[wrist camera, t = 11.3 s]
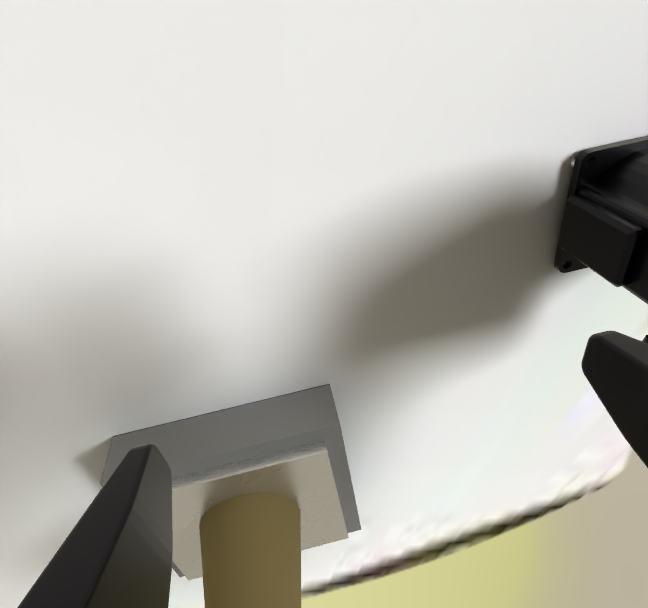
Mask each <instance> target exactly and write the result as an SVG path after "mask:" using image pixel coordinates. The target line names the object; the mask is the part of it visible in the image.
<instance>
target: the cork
mask: <svg viewBox="0 0 648 608" xmlns="http://www.w3.org/2000/svg"><path fill="white" fill-rule="evenodd" d="M199 530H200V544H201V558H202V572H203V586H204V599H205V608H301V510H300V508H299V507H298V505H297V504H296V502H294V501H293V500H291V499H289V498H288V497H286V496H282V495H278V494H274V493H250V494H243V495H238V496H235V497H232V498H229V499H226V500H223V501H221V502H220V503H218V504H216V505H215V506H213V507H211V508H210V509H209V510H208V511H207V512H206V513H205V514H204V515H203V516H202V519H201V522H200V524H199Z"/></svg>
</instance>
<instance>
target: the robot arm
mask: <svg viewBox="0 0 648 608" xmlns="http://www.w3.org/2000/svg"><path fill="white" fill-rule="evenodd" d="M589 158H590V160H589V162H588V163H587V164H586V162H587V160H588V159H589ZM565 262H566V263H565ZM564 263H565V264H564ZM554 266H555V268H556V269H557V270H559V271H560V272H562V273H566V272H571V271H575V270H579V269H583V268H588V267H589V268H590V269H592V270H593V271H594V272H596V273H597V274H599V275H600V276H601V277H603V278H604V279H606V280H607V281H608V282H610V283H611V284H613V285H614V286H616V287H620V286H623V287H624V288H625V289H627V290H628V291H630V292H631V293H632V294H634V295H635V296H637V297H638V298H640V299H641V300H642V301H644V302H645V303H647V304H648V136H646V137H641V138H637V139H632V140H627V141H623V142H618V143H614V144H609V145H604V146H600V147H595V148H591V149H587V150H584V151H582V152H581V153H580V154H579V155H578V157H577V158H576V160H575V164H574V169H573V174H572V178H571V183H570V188H569V193H568V198H567V203H566V208H565V213H564V218H563V222H562V227H561V232H560V237H559V242H558V247H557V252H556V257H555V262H554ZM582 370H583V373H584V375H585V376H586V378H587V380H588V381H589V383H590V384H591V386H592V387H593V389H594V391H595V392H596V394H597V395H598V397H599V399H600V400H601V402H602V403H603V405H604V406H605V408H606V410H607V411H608V413H609V414H610V416H611V418H612V419H613V421H614V422H615V424H616V425H617V427H618V429H619V430H620V432H621V433H622V434H623V436H624V437H625V439H626V440H627V442H628V443H629V444H630V446H631V447H632V448H633V450H634V451H635V452H636V453H637V455H638V456H639V457H640V459H641V460H642V461H643V462H644V463H645V465H646V466H647V468H648V335H646V336H645V338H644V339H643V341H639V340H637V339H634V338H631V337H629V336H626V335H624V334H621V333H618V332H615V331H605V332H601V333H597V334H594V335H592V336H591V337H590V338H589V340H588V343H587V346H586V349H585V353H584V356H583V359H582ZM172 557H173V530H172V475H171V470H170V467H169V465H168V463H167V462H166V460H165V458H164V457H163V455H162V454H161V452H160V451H159V449H158V448H157V446H156V445H155V444H153V443H147V444H143V445H139V446H135V447H133V448H131V449H130V450H129V451H128V452H127V454H126V455H125V456H124V458H123V459H122V461H121V462H120V463H119V465H118V466H117V468H116V469H115V471H114V472H113V473H112V475H111V476H110V478H109V479H108V480H107V482H106V483H105V485H104V486H103V487H102V489H101V490H100V492H99V493H98V495H97V496H96V497H95V499H94V500H93V502H92V503H91V504H90V506H89V507H88V509H87V510H86V511H85V513H84V514H83V516H82V517H81V519H80V520H79V521H78V523H77V524H76V526H75V527H74V528H73V530H72V531H71V533H70V534H69V536H68V537H67V538H66V540H65V541H64V543H63V544H62V545H61V547H60V548H59V550H58V551H57V552H56V554H55V555H54V557H53V558H52V560H51V561H50V562H49V564H48V565H47V567H46V568H45V569H44V571H43V572H42V574H41V575H40V577H39V578H38V579H37V581H36V582H35V584H34V585H33V586H32V588H31V589H30V591H29V592H28V593H27V595H26V596H25V598H24V599H23V601H22V602H21V603H20V605H19V606H18V608H168V602H169V592H170V581H171V571H172Z"/></svg>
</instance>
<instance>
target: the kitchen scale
mask: <svg viewBox="0 0 648 608" xmlns="http://www.w3.org/2000/svg"><path fill="white" fill-rule="evenodd" d="M147 443H153V444H155V445H156V446H157V448H158V449H159V451H160V452H161V454H162V455H163V457H164V458H165V460H166V462H167V463H168V465H169V467H170V470H171V475H172V530H173V557H172V568H173V569H174V571H175V572H176V573H177V574H178V575H179V576H180V577H183V576H185V577H186V578H187V579H188V580H191V579H195V578H199V577H202V576H203V572H202V558H201V544H200V530H199V524H200V522H201V519H202V516H203V515H204V514H205V513H206V512H207V511H208V510H209V509H210V508H211V507H213V506H215V505H216V504H218V503H220V502H221V501H223V500H226V499H229V498H232V497H235V496H238V495H243V494H250V493H274V494H278V495H282V496H286V497H288V498H289V499H291V500H293V501H294V502H296V504H297V505H298V507H299V508H300V510H301V550H304V549H308V548H312V547H316V546H320V545H323V544H327V543H331V542H335V541H338V540H342V539H346V538H348V533H349V532H353V531H357V530H361V526H360V521H359V516H358V511H357V506H356V501H355V496H354V491H353V486H352V481H351V477H350V472H349V467H348V462H347V457H346V452H345V447H344V442H343V437H342V432H341V427H340V423H339V419H338V415H337V411H336V407H335V403H334V400H333V396H332V392H331V388H330V384H328V385H324V386H320V387H316V388H312V389H308V390H304V391H299V392H295V393H291V394H287V395H283V396H279V397H275V398H270V399H266V400H262V401H258V402H254V403H250V404H246V405H242V406H237V407H233V408H229V409H225V410H221V411H217V412H213V413H209V414H204V415H200V416H196V417H192V418H188V419H184V420H180V421H176V422H171V423H167V424H163V425H159V426H155V427H151V428H147V429H143V430H138V431H134V432H130V433H126V434H122V435H118V436H114V437H113V438H112V442H111V446H110V449H109V453H108V456H107V460H106V463H105V467H104V471H103V474H102V478H101V481H100V484H101V485H102V486H104V485H105V483H106V482H107V480H108V479H109V478H110V476H111V475H112V473H113V472H114V471H115V469H116V468H117V466H118V465H119V463H120V462H121V461H122V459H123V458H124V456H125V455H126V454H127V452H128V451H129V450H130V449H131V448H133V447H135V446H139V445H143V444H147Z"/></svg>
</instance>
